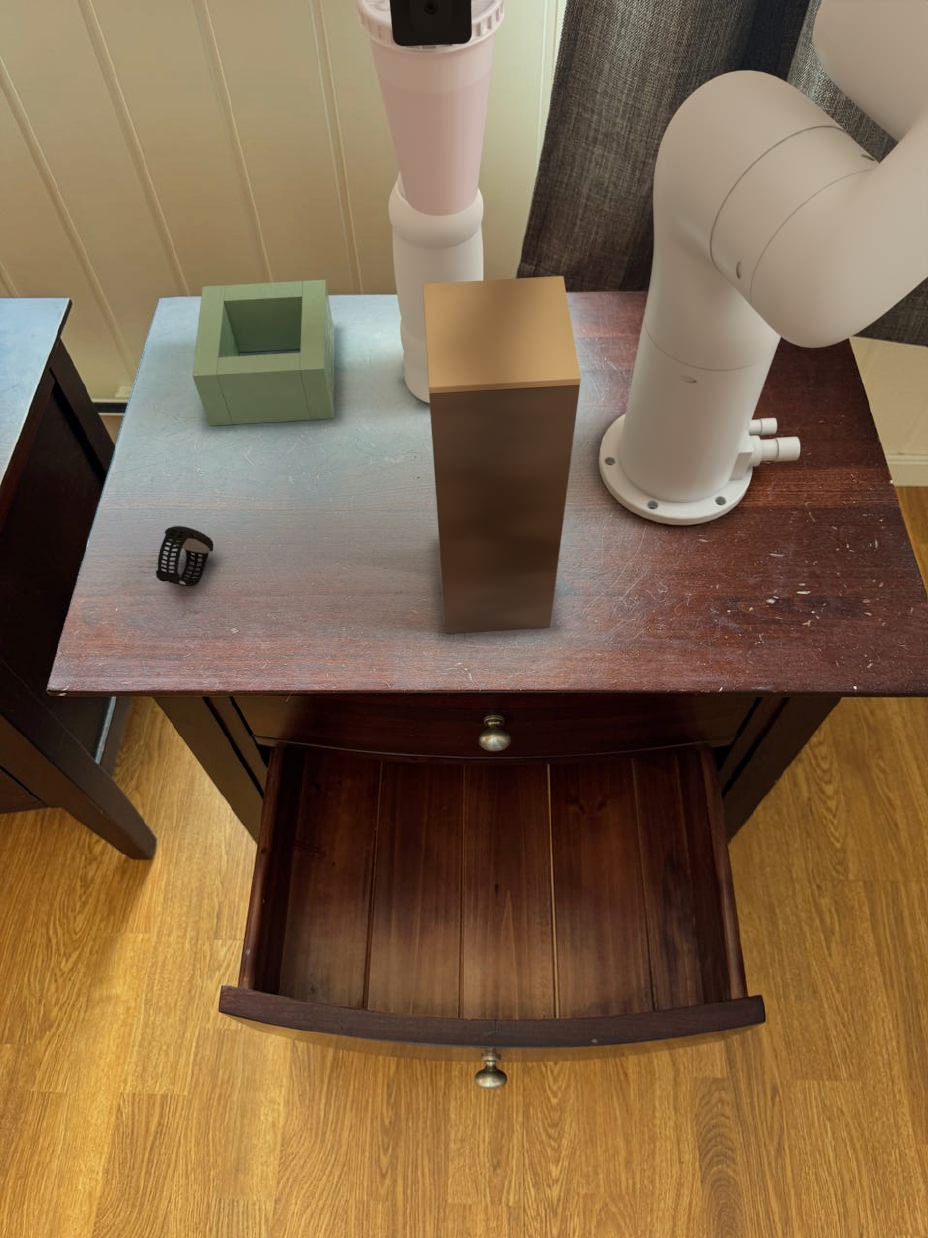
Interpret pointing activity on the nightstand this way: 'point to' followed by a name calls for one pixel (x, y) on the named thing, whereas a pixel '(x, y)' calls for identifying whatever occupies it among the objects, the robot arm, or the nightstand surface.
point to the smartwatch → (191, 544)
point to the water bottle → (429, 269)
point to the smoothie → (435, 105)
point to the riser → (500, 445)
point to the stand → (273, 379)
